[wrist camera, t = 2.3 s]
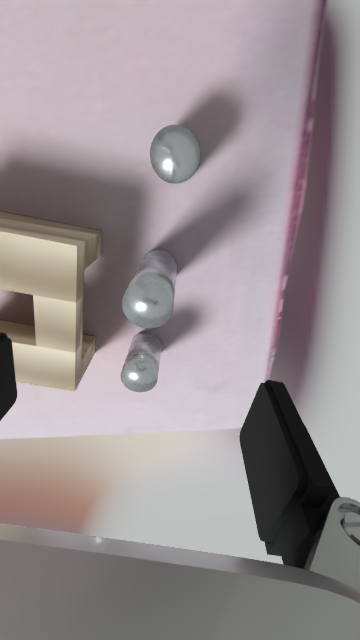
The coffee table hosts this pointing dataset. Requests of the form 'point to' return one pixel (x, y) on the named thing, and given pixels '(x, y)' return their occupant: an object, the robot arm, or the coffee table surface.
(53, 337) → the bridge
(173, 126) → the short pin
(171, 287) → the long pin
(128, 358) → the medium pin
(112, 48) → the coffee table surface
